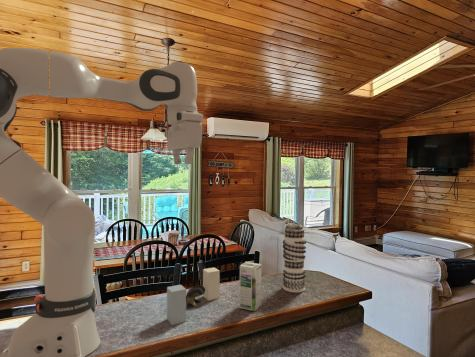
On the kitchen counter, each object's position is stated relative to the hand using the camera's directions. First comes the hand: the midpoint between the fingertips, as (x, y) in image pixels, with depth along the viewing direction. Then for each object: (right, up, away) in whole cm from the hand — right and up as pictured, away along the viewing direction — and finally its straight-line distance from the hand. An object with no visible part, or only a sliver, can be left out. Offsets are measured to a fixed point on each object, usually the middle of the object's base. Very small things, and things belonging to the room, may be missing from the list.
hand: (182, 164), depth 97 cm
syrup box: (+21, -48, +11) cm, 54 cm away
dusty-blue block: (-2, -48, +1) cm, 48 cm away
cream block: (+7, -48, +19) cm, 52 cm away
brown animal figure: (+1, -48, +12) cm, 49 cm away
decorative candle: (+39, -48, +28) cm, 68 cm away
